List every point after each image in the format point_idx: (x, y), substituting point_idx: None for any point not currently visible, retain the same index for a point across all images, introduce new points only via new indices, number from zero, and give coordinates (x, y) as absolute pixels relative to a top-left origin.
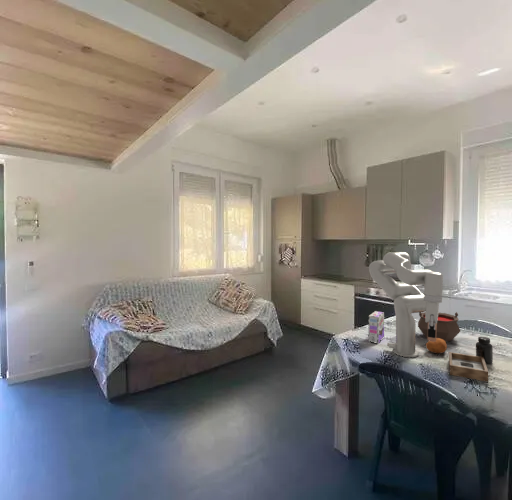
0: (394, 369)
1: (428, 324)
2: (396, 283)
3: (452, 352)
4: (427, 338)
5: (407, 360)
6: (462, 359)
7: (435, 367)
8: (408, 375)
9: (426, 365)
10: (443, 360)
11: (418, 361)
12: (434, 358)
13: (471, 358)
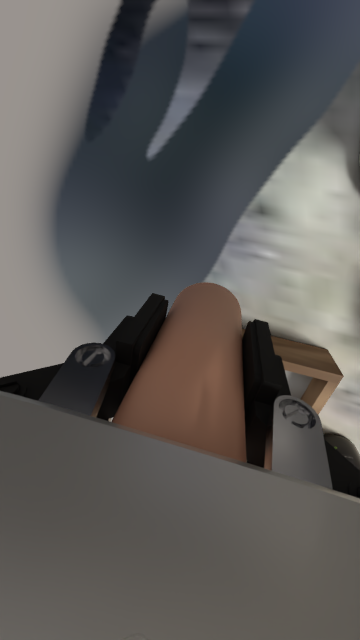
0: (142, 21)
1: (143, 399)
2: None
3: (334, 386)
4: (207, 287)
5: (311, 133)
6: (301, 396)
7: (233, 274)
8: (93, 119)
9: (250, 237)
10: (327, 328)
11: (301, 204)
12: (353, 296)
13: None
